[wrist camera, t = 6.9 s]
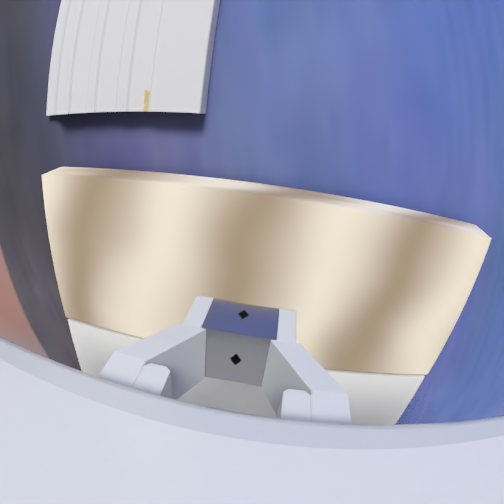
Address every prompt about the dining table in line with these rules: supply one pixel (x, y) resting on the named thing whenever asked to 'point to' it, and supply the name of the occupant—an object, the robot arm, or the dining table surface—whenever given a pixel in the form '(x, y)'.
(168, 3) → the baseboard
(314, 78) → the dining table surface
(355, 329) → the birch plank
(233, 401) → the white board
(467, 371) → the dining table surface
